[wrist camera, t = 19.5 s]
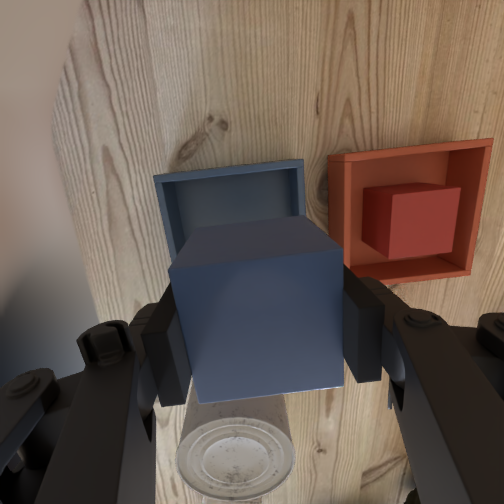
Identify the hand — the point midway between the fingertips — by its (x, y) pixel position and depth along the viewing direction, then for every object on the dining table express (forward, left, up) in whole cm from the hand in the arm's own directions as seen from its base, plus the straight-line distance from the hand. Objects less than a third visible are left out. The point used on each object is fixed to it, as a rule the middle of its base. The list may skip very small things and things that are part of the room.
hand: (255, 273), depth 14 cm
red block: (+1, +14, -14) cm, 20 cm away
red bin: (+1, +14, -14) cm, 20 cm away
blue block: (0, 0, 0) cm, 0 cm away
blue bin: (+1, -1, -14) cm, 14 cm away
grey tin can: (+17, -3, -15) cm, 23 cm away
